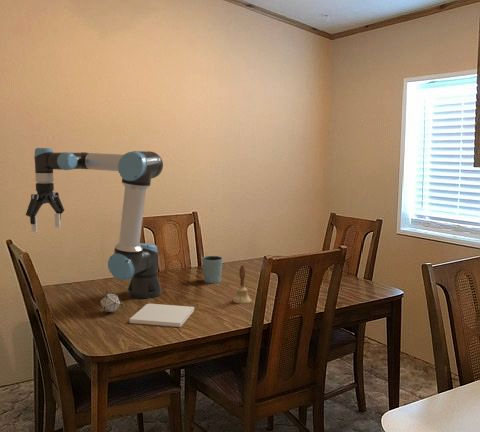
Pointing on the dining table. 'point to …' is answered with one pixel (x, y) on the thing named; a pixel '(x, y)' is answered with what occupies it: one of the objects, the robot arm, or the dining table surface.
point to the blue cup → (212, 269)
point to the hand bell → (242, 289)
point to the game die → (110, 302)
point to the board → (162, 315)
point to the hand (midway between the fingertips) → (46, 229)
